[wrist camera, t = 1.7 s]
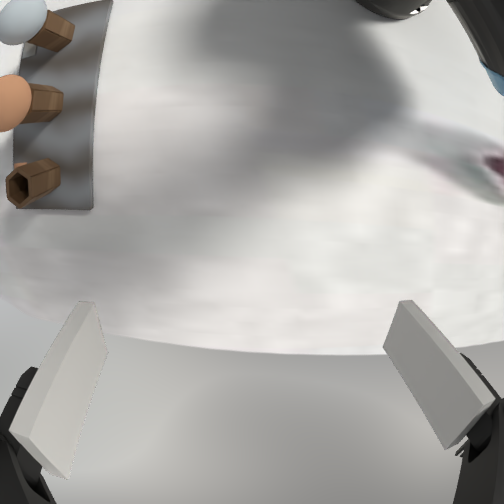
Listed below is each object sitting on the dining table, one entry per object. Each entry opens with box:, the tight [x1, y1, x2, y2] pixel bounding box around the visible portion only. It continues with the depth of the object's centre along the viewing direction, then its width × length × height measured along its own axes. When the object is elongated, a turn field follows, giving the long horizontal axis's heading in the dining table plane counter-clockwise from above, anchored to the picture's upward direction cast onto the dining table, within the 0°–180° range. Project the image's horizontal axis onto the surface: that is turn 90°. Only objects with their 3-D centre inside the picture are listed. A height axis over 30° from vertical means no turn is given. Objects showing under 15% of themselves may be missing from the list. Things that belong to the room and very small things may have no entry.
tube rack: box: [6, 0, 113, 210], centre depth 24 cm, size 28×13×8 cm, turn 174°
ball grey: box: [0, 0, 47, 45], centre depth 14 cm, size 6×6×6 cm
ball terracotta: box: [0, 75, 32, 132], centre depth 18 cm, size 6×6×6 cm
